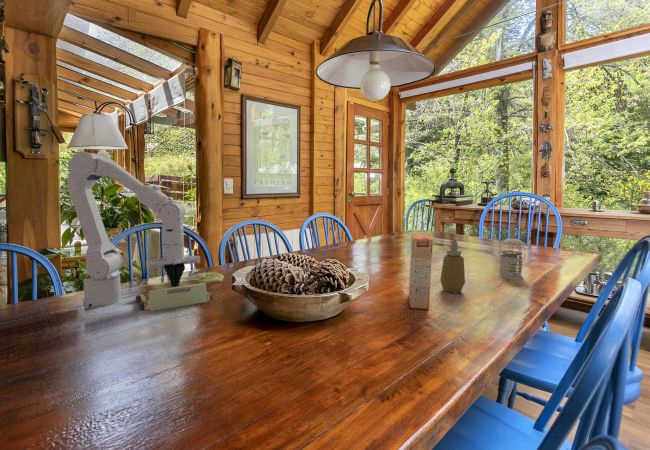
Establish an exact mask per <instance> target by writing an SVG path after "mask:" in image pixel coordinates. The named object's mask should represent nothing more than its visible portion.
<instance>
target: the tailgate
mask: <svg viewBox="0 0 650 450" xmlns="http://www.w3.org/2000/svg"><path fill="white" fill-rule="evenodd" d="M207 292H208V291H207V284H206V283H203V284H195V285H187V286H180V287H172V288H165V289H157V290H149V304H150V310H149V311H150V312H151V311H152V312H153V311H158V310H165V309H172V308H179V307H184V306H191V305H197V304H203V303H204V304H205V303H207V302H208V301H207Z"/></svg>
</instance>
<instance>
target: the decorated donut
mask: <svg viewBox="0 0 650 450" xmlns="http://www.w3.org/2000/svg"><path fill="white" fill-rule="evenodd" d="M224 277H225V276H224V275H223V274H222V273H220V272H216V271H207V272H199V273H197V274H194V276H192V279H200V284H203V283H206V285H209V284H211V285H212V284H217V283H221V282H224V279H225V278H224Z"/></svg>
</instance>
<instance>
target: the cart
mask: <svg viewBox="0 0 650 450" xmlns="http://www.w3.org/2000/svg"><path fill="white" fill-rule="evenodd" d="M195 284H200V279H193V278H192V279H184V280H180V282H179V286H178V287H180V286H187V285H195ZM165 288H172V287H171V283H170V281H169V282H161V283H152V284H146V285H145V284H144V285H138V295H136V296H135V301H136V304H138V309H139V310H140V311H144V312H146V311H150V304H149V290H157V289H165ZM211 300H213V294H212V292H211V291H210V292H208V291H207V302H208V301H211Z"/></svg>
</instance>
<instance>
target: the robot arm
mask: <svg viewBox="0 0 650 450" xmlns="http://www.w3.org/2000/svg"><path fill="white" fill-rule="evenodd" d="M67 166H68V168H69V169H68V178H67V183H66V186H67V190H68V193H69V195H70V199H71V202H72V205H73V209H74V211H75V213H76V216H77V220H78V222H79V225H80V228H81V230H82V234H83V236H84V240H85V242H86V245H87V249H86V251H85V254H84V256H85V260H86V261H85V262H86V263H85V271H86V274H87V275H88V276H89V278H84V279H83V297H84V298H83V299H82V303H83V306H84V308H85V309H86V308H87V309H88V308H93V307H94V308H95V307H106V306H111V305H115V304H118V303H120V302H121V301H122V290H121V289H122V287H121V273H120V269H122V267H123V265H124V258H123V256H122V254H120V253H119V252H118V250H117V248H116V246H115V245H114V244H113V243H112V242H111V241H110V240H109V237H108V234H107V231H106V228H105V225H104V221H103V220H102V219H103V218H102V216H101V213H100V210H99V206H98V205H97V201H96V198H95V196H94V192H93V189H92V188H93V187H95V186H94V185H96V183H97V182H98V181H99V180H100V179H101V178H103V177H106V178H107V177H108V178H111V179H113V180H114V181H116V182H118V183H119V184H120V185H122V186H124V187H125V188H127V189H128V190H130V191H131V192H133V193H134V194H136V195H135V196H136V199H137V202H140V203H141V204H142V205H144V206H145V207H147V208H148V209H149V210H150V211H152V212H154V213H155V214H157V215H158V218H159V220H160V221H161V225H162V226H161V232H162V233H161V238H162V239H161V240H162V258H155V259H150V260H146V261H145V267H146V269H152V268H162V267H163V269H164V271H165V273H166V275H167V277H168V279H169V282H170V283H171V287H178V286H179V282H180V281H181V279H182V276H183V273H184V271H185V270H186V266H185V265H190V264H201V256H200V255H191V256H190V255H187V256H186V255H185V242H184V241H185V238H184V237H185V235H184V221H183V220H184V219H183V218H184V217H185V214H186V209H185V206H184V205H183V204H182V203H181V202H180V201H176V200H174V198H173V196H172V197H171V196H168V195H167V194H165V193H163V192H162V191H161V190H159V189H160V187H159V186H157V185H153V184H143V182H141V181H140V180H139V179H138V178H136V177H135V176H134V175H132V174H131V173H130V172H128V171H127V170H126V169H125V168H123V167H122V166H121V165H120V164H118V163H117V162H116V161H115V160H114V159H111V158H108V156H107V155H105V154H102V153H92V152H88V151H77V152H76V153H75V154H73V155H72V156H71V158H70V159H69V161H68V162H67Z"/></svg>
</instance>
